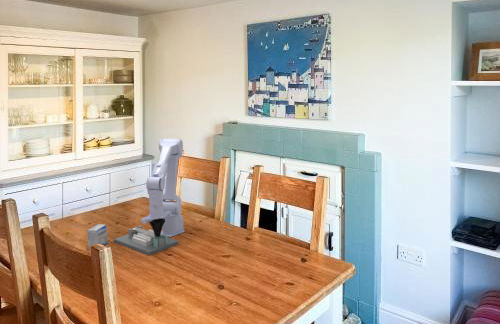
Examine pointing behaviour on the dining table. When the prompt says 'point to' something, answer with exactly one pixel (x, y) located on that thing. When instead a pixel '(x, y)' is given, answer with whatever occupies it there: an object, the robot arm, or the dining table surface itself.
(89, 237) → the medicine box
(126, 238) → the heatsink board
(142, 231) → the strap
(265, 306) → the dining table surface
